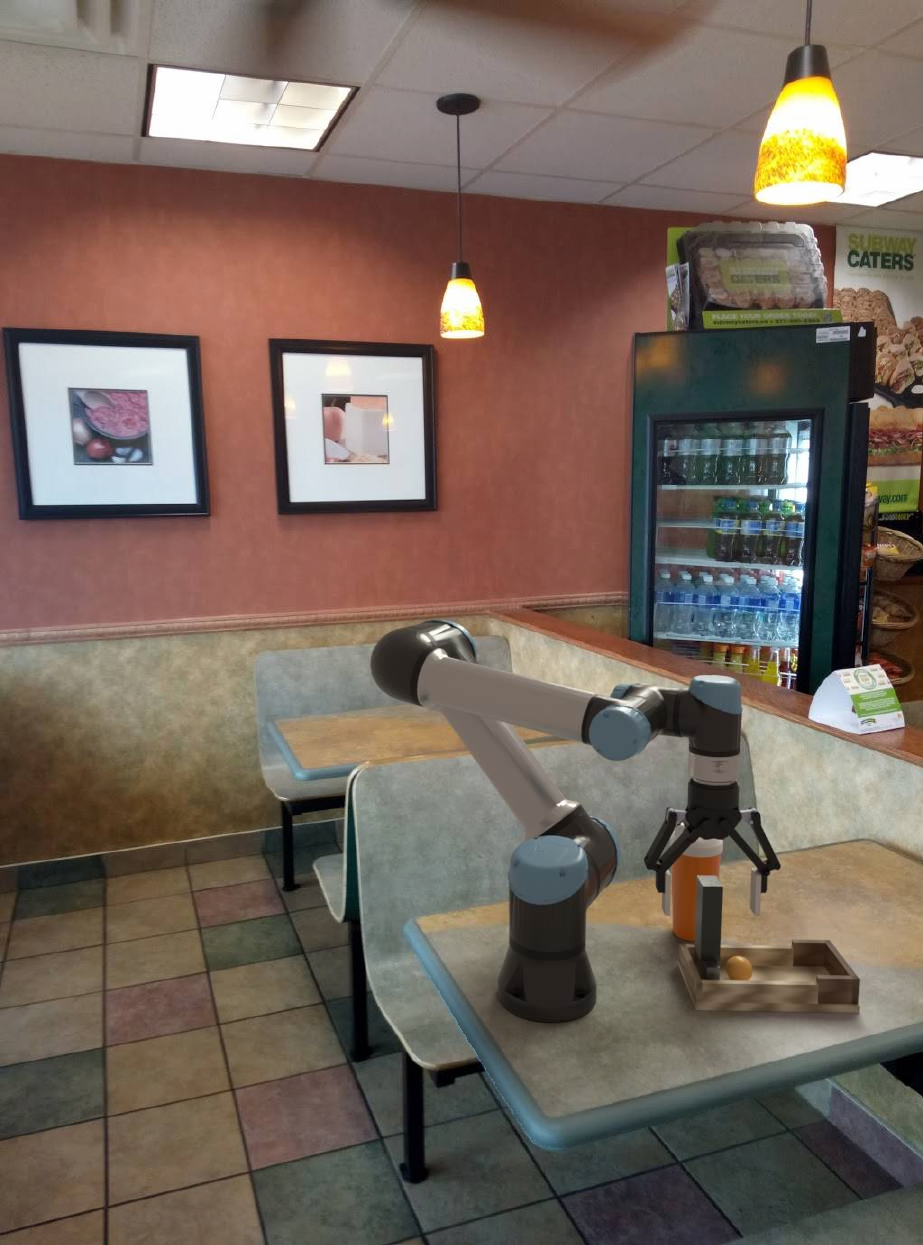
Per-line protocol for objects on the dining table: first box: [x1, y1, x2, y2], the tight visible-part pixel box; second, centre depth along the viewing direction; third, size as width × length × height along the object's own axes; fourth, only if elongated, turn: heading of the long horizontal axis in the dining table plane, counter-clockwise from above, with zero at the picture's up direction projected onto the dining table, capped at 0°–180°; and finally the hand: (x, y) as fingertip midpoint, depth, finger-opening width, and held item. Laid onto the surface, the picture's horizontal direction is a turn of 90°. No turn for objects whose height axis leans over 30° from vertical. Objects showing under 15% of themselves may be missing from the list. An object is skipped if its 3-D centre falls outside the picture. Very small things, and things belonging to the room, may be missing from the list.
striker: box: [694, 876, 724, 980], centre depth 139 cm, size 3×8×16 cm, turn 178°
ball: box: [726, 956, 753, 980], centre depth 140 cm, size 4×4×4 cm
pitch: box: [677, 939, 861, 1014], centre depth 140 cm, size 24×13×5 cm, turn 88°
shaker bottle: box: [669, 819, 724, 943], centre depth 157 cm, size 9×9×20 cm
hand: (710, 912), depth 138 cm, fingers open, 13 cm apart
